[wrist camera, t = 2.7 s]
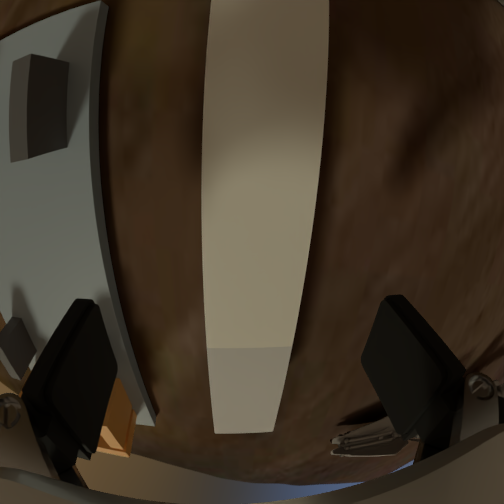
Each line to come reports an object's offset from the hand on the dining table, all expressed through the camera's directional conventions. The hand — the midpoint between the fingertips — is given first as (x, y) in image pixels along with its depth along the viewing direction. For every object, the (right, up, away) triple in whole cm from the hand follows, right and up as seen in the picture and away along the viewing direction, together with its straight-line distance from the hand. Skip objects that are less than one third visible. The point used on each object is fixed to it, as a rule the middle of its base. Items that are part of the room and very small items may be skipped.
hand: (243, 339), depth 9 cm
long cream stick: (0, +3, +5) cm, 6 cm away
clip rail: (-12, +1, +5) cm, 13 cm away
